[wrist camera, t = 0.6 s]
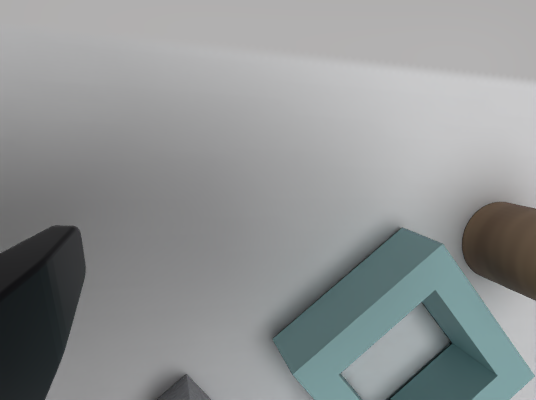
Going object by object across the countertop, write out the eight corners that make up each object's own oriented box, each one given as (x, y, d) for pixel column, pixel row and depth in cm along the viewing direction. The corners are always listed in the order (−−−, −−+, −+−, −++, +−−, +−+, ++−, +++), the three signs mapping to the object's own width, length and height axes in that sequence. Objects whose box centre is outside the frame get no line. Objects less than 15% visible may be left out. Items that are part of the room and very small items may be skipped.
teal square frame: (368, 449, 26) (401, 498, 22) (272, 339, 24) (292, 374, 20) (485, 344, 26) (534, 375, 23) (402, 227, 24) (442, 243, 21)
